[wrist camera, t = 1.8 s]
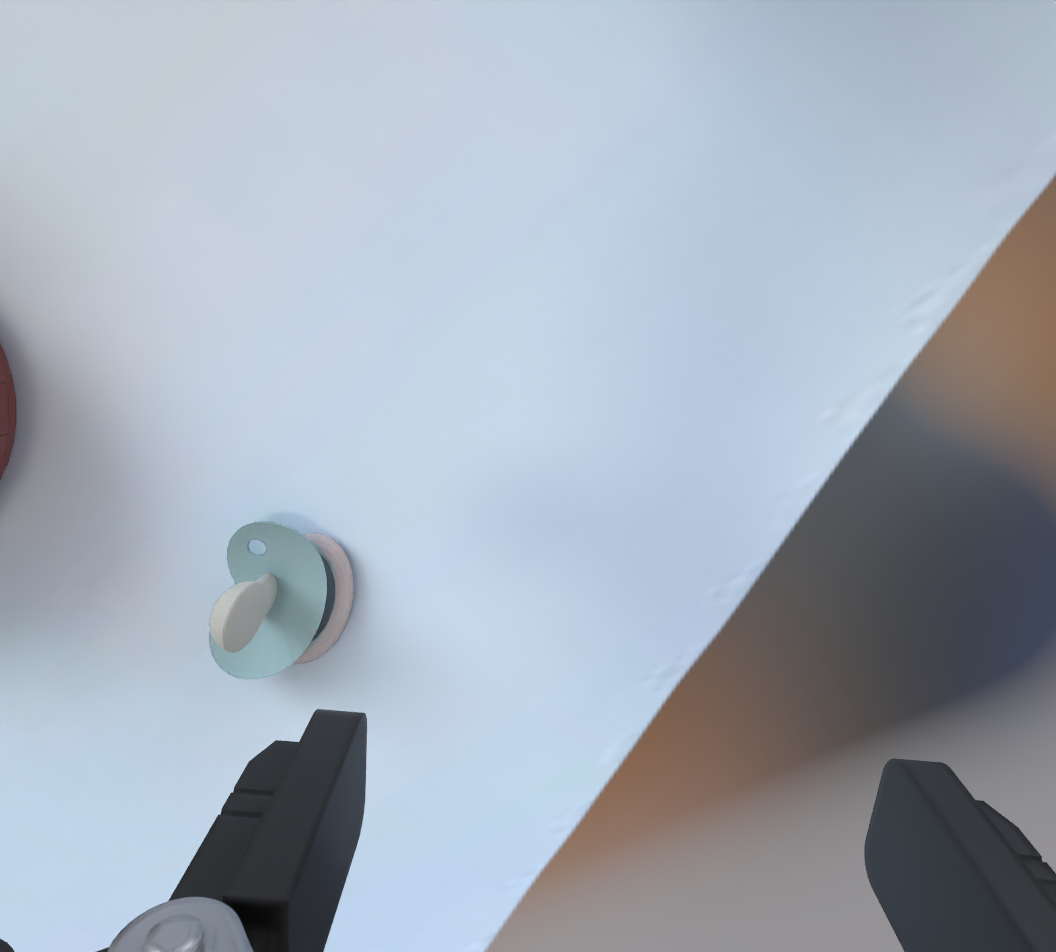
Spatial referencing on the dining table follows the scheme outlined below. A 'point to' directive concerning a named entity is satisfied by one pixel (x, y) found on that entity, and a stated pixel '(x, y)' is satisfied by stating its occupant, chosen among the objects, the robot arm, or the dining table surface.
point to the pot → (6, 412)
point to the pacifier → (278, 601)
